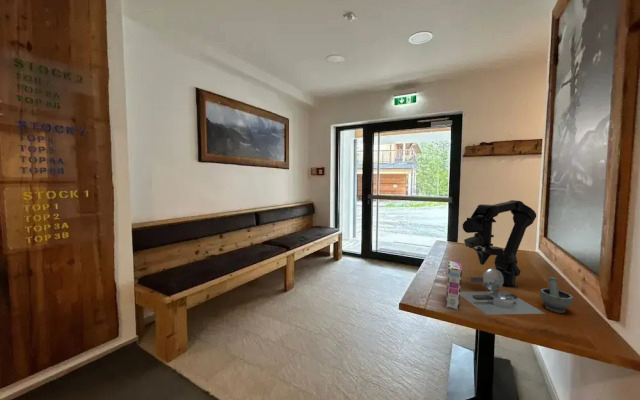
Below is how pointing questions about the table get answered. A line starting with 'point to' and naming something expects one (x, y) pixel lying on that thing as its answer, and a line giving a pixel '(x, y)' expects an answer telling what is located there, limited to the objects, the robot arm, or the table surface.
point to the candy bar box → (453, 285)
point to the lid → (490, 279)
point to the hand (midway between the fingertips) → (482, 264)
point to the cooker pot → (498, 298)
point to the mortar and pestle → (555, 297)
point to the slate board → (490, 309)
